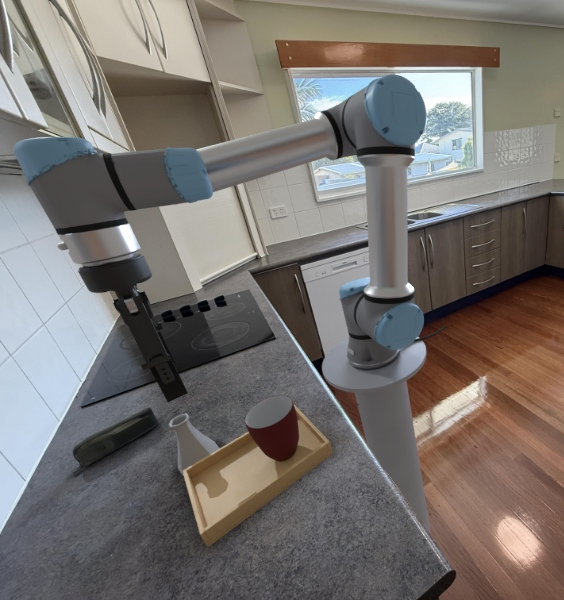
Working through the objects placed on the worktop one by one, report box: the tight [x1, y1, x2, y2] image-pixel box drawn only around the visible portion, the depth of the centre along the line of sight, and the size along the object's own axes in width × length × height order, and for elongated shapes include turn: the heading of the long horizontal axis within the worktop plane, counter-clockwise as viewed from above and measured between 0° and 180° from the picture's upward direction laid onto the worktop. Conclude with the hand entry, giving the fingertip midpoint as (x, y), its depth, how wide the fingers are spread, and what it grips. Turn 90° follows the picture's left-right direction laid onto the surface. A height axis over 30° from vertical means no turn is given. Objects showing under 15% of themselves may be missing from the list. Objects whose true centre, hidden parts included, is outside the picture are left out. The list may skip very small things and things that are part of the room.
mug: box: [244, 394, 299, 461], centre depth 57 cm, size 11×8×10 cm
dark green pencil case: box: [71, 407, 159, 474], centre depth 66 cm, size 5×3×15 cm
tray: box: [182, 404, 334, 548], centre depth 56 cm, size 21×15×3 cm
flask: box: [168, 412, 221, 477], centre depth 59 cm, size 7×7×10 cm
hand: (171, 379), depth 53 cm, fingers open, 13 cm apart
